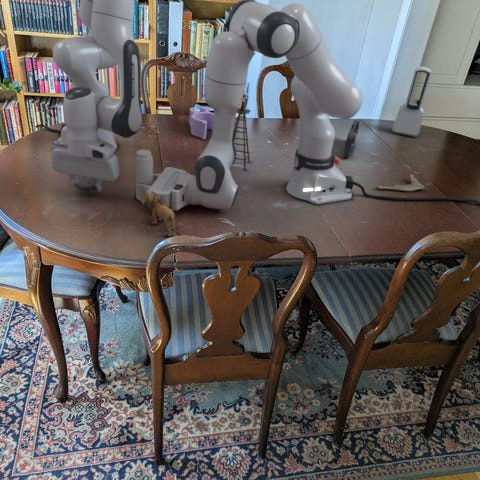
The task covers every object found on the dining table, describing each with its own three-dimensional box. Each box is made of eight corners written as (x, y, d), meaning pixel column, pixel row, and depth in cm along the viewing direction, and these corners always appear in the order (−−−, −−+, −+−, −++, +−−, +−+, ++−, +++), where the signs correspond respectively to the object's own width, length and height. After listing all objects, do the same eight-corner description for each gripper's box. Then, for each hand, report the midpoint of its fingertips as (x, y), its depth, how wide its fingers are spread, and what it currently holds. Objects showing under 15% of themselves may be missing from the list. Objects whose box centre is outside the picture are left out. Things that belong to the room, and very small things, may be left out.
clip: (182, 123, 206) (183, 107, 202) (209, 122, 210) (210, 106, 207) (197, 140, 191) (197, 123, 187) (225, 138, 195) (226, 122, 191)
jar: (138, 192, 148) (137, 147, 140) (154, 194, 148) (154, 149, 140) (134, 200, 144) (132, 154, 136) (151, 202, 144) (150, 156, 136)
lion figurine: (138, 219, 134) (138, 191, 130) (153, 213, 138) (152, 186, 133) (173, 240, 127) (174, 211, 122) (187, 233, 131) (188, 205, 126)
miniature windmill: (245, 170, 170) (254, 87, 153) (222, 166, 171) (229, 83, 154) (250, 161, 177) (258, 80, 161) (228, 157, 178) (235, 77, 162)
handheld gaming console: (349, 160, 187) (354, 136, 182) (342, 158, 188) (347, 134, 183) (355, 142, 206) (361, 119, 201) (349, 140, 207) (354, 118, 201)
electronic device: (418, 133, 224) (438, 69, 207) (417, 138, 218) (438, 72, 201) (391, 128, 226) (409, 64, 210) (390, 133, 220) (409, 67, 204)
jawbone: (429, 189, 172) (431, 184, 171) (394, 201, 161) (396, 196, 160) (410, 177, 177) (412, 172, 176) (375, 189, 167) (376, 184, 165)
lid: (91, 193, 140) (90, 188, 139) (73, 189, 141) (72, 184, 140) (100, 185, 145) (100, 180, 144) (83, 181, 146) (83, 177, 145)
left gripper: (44, 144, 134) (50, 187, 142) (111, 155, 132) (114, 198, 140) (55, 136, 140) (61, 178, 147) (120, 147, 137) (122, 189, 145)
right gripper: (194, 166, 149) (153, 159, 150) (175, 194, 132) (128, 186, 133) (193, 183, 152) (153, 177, 154) (174, 213, 135) (129, 205, 137)
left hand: (87, 188), depth 143 cm, fingers closed on lid, 6 cm apart
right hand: (141, 181), depth 143 cm, fingers closed on jar, 5 cm apart
